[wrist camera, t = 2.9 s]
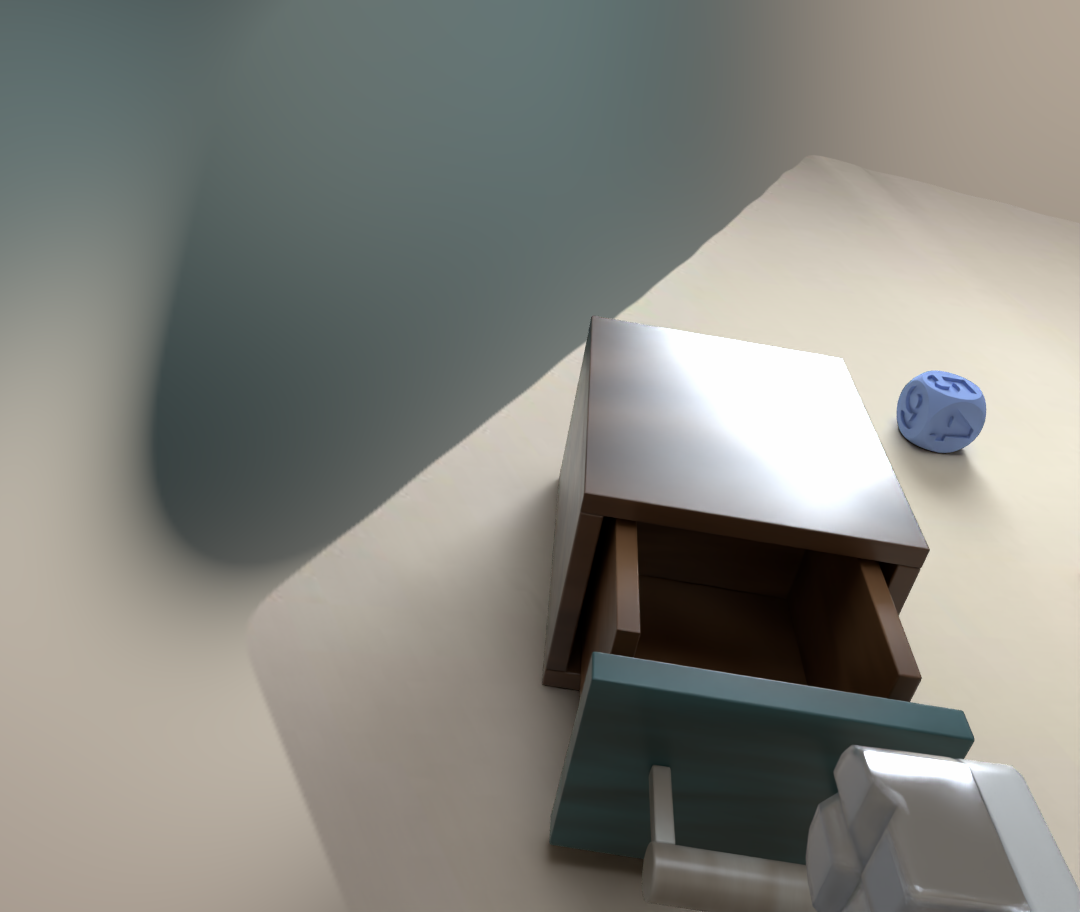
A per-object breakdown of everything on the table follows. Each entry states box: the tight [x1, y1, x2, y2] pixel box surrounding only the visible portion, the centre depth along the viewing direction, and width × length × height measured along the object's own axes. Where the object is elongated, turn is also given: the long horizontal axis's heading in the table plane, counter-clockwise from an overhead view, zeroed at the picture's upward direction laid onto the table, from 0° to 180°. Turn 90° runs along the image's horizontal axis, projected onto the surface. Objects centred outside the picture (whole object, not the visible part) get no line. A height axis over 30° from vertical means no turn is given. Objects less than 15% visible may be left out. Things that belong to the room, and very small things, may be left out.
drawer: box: [549, 516, 974, 912], centre depth 35 cm, size 19×12×8 cm, turn 177°
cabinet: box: [542, 316, 930, 690], centre depth 44 cm, size 16×13×10 cm
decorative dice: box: [897, 371, 986, 453], centre depth 63 cm, size 4×4×4 cm
